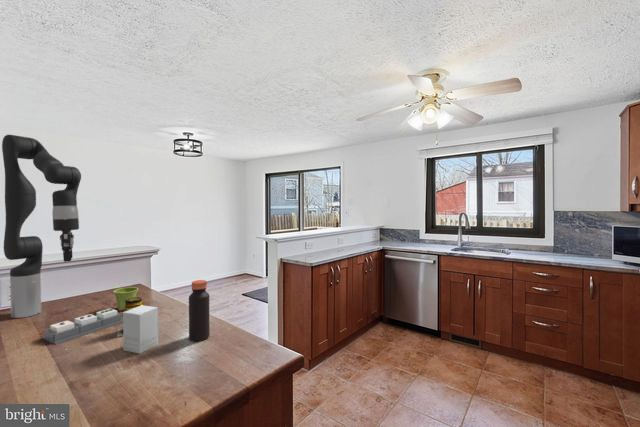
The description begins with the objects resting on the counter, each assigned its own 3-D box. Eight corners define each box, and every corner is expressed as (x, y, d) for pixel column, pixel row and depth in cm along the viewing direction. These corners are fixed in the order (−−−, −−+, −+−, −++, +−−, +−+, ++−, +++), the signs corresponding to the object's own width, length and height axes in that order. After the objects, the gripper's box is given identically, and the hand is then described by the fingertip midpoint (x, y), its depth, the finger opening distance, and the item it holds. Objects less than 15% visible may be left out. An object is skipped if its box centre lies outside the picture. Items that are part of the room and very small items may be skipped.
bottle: (213, 335, 107) (213, 280, 106) (198, 343, 101) (198, 285, 100) (199, 332, 110) (199, 278, 109) (184, 339, 104) (184, 282, 103)
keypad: (42, 338, 104) (42, 329, 104) (110, 317, 123) (110, 310, 123) (55, 344, 99) (55, 335, 99) (124, 321, 119) (124, 314, 119)
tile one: (50, 333, 104) (50, 324, 104) (67, 328, 108) (67, 319, 108) (57, 336, 102) (56, 326, 101) (74, 330, 106) (74, 321, 106)
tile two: (74, 325, 110) (74, 317, 110) (90, 321, 115) (90, 313, 115) (81, 328, 108) (81, 319, 108) (97, 323, 112) (97, 315, 112)
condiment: (144, 332, 110) (144, 299, 109) (117, 337, 105) (116, 303, 105) (143, 325, 116) (143, 294, 116) (117, 330, 111) (117, 298, 111)
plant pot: (133, 304, 140) (132, 285, 140) (142, 308, 135) (142, 289, 135) (110, 309, 133) (109, 290, 133) (118, 314, 127) (118, 294, 127)
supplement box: (159, 344, 100) (159, 307, 100) (139, 354, 93) (139, 314, 93) (142, 340, 102) (142, 304, 102) (122, 350, 95) (122, 311, 95)
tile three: (96, 319, 117) (96, 311, 117) (110, 315, 121) (110, 307, 121) (103, 321, 114) (103, 313, 114) (117, 317, 119) (117, 309, 119)
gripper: (54, 218, 117) (57, 259, 117) (50, 218, 106) (53, 263, 106) (79, 217, 121) (81, 256, 122) (77, 217, 110) (80, 260, 111)
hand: (68, 259), depth 114 cm, fingers open, 8 cm apart
